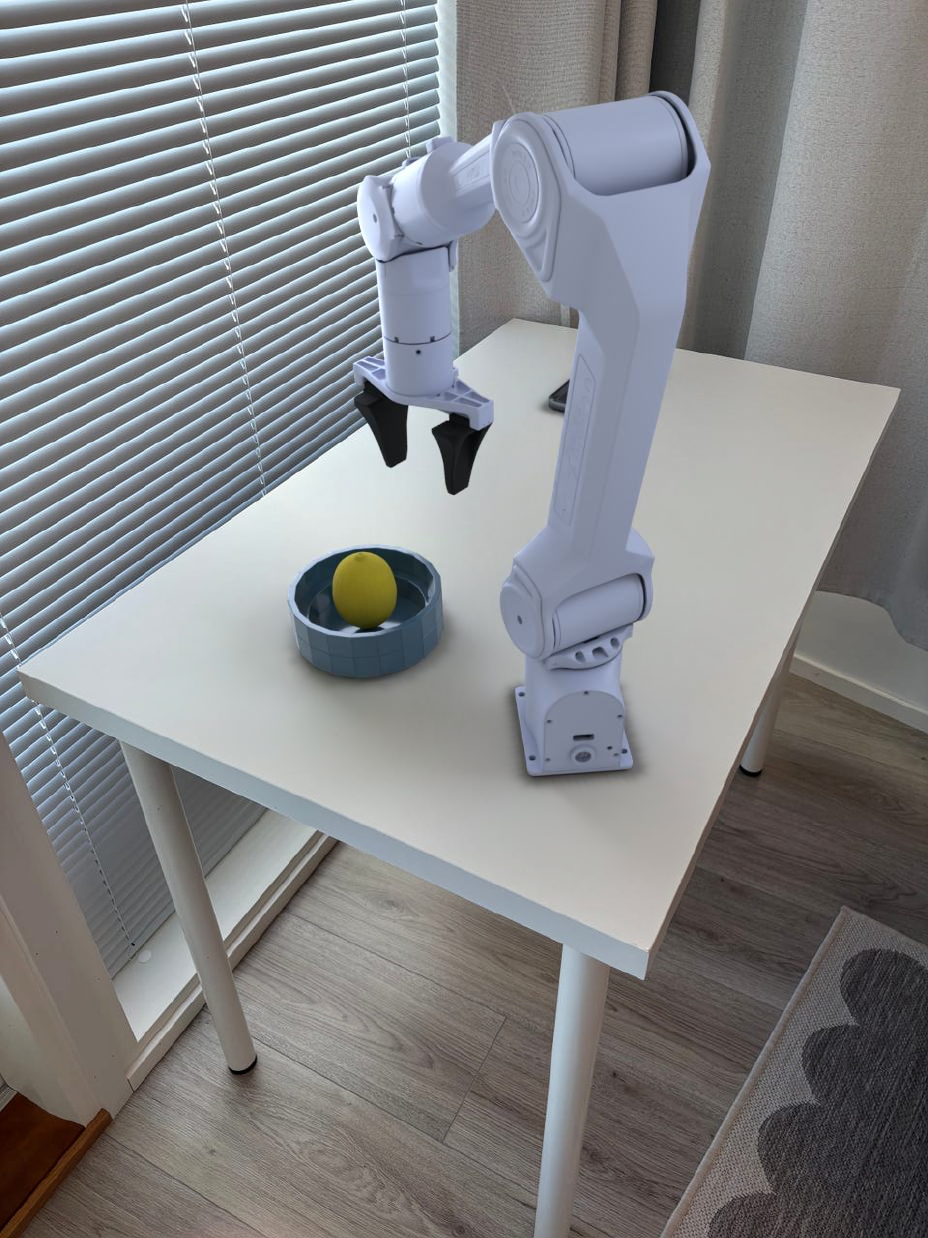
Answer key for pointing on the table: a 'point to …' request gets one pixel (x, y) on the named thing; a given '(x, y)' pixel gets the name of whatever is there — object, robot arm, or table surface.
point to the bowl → (372, 648)
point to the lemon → (364, 590)
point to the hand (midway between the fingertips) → (426, 476)
